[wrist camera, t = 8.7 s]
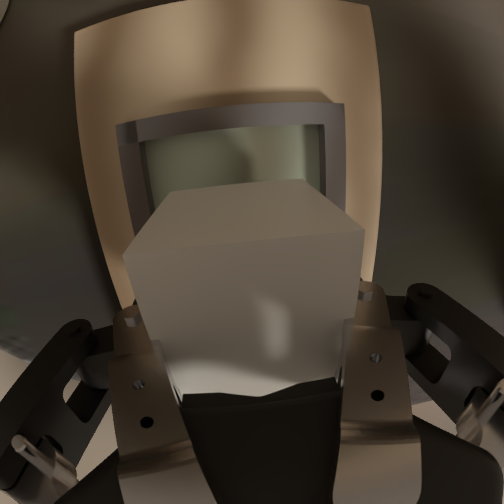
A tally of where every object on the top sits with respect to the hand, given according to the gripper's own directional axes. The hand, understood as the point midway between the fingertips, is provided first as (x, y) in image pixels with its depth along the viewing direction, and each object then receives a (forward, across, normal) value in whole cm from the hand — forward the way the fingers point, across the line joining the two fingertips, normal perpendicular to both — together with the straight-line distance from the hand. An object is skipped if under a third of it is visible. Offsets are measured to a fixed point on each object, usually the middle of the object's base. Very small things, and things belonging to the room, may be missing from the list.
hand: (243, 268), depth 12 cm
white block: (+1, 0, 0) cm, 1 cm away
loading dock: (+6, 0, 0) cm, 6 cm away
